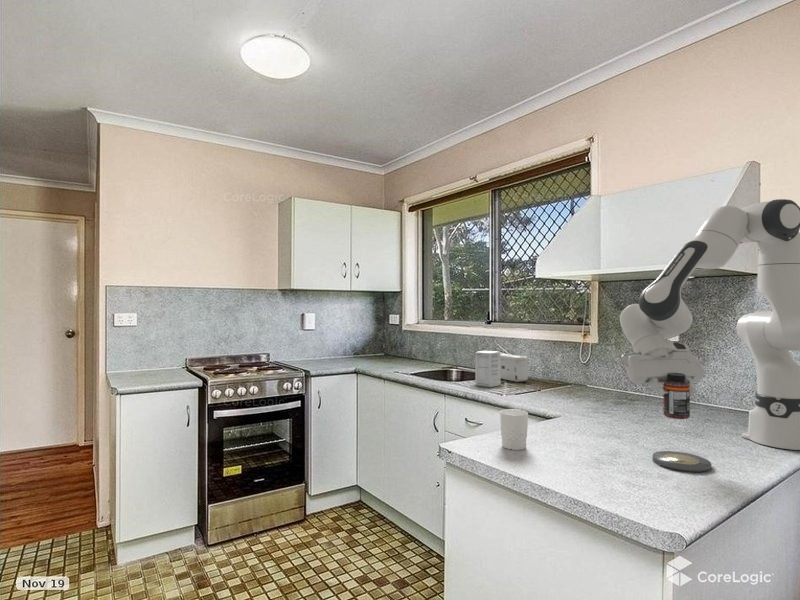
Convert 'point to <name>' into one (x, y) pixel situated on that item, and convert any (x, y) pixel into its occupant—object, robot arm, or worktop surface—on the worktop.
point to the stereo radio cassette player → (513, 367)
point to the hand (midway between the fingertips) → (678, 394)
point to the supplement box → (487, 368)
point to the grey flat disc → (681, 461)
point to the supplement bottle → (677, 397)
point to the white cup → (514, 428)
